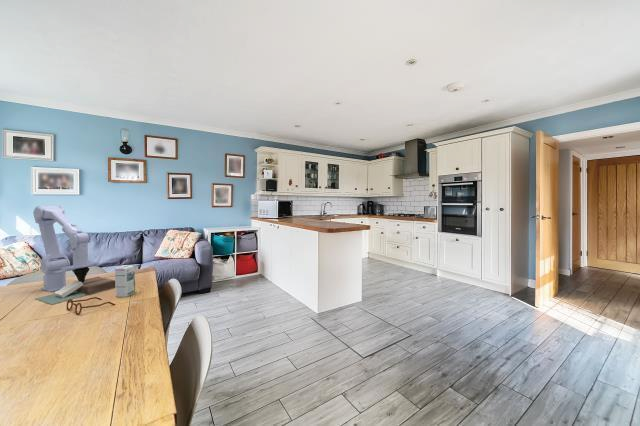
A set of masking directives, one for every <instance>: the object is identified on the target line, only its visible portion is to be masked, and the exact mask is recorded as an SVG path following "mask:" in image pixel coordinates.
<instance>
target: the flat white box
mask: <svg viewBox="0 0 640 426" xmlns="http://www.w3.org/2000/svg"><path fill="white" fill-rule="evenodd" d="M81 286H83V283H82V282H80V281H78V280H73V281H71V282H70V283H68V284H66V286H65V287H63V288H62V289H60V290H56V291H55V292H54V294H55V295H56V296H58V297H62V298H64V297H65V296H67V295H69V294H70V293H72V292H73V291H75V290H76V289H78V288H80V287H81ZM75 292H76V291H75Z"/></svg>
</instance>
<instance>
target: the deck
mask: <svg viewBox="0 0 640 426" xmlns="http://www.w3.org/2000/svg"><path fill="white" fill-rule="evenodd" d="M112 289H116V286H115V279H110V278H106V277H102V276H95V277H91V278H85V280H84V283H83V286H81V287H80V288H78V289H76V290H75V292H79V293H82V294H86V295H87V296H89V295H90V296H91V295H94V294H97V293H98V294H99V293H102V292H104V291H109V290H112Z"/></svg>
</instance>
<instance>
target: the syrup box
mask: <svg viewBox="0 0 640 426" xmlns="http://www.w3.org/2000/svg"><path fill="white" fill-rule="evenodd" d="M135 274H136V273H135V265H132V264H126V265H121V266H118V267H115V268H114V280H115V297H119V298H127V297H129V296H132V295H134V294H136V280H135V279H136V278H135V277H136V276H135Z"/></svg>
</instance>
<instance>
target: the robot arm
mask: <svg viewBox="0 0 640 426" xmlns="http://www.w3.org/2000/svg"><path fill="white" fill-rule="evenodd" d="M33 218H34V221H35V224H38V227H39V231H40V235H41V236H40V237H41V238H42V239H41V240H42V242H43V247H44V251H45V256H43V257H42V258H41V259H40V260H39V261H40V267H39V268H40V271H41V272H42V273H44V275H43V287H42V288H41V290H43V291H47V292H51V293H52V292H54V291H55V292H56V291H58V290H60V289H62V288H63V287H65V286H66V285H67V277H66V272H70V271H72V273H74V276H75V277H76V279H77V281H80V282H82V283H84V280H86V277H87V274H88V273H89V271H90V268H91V267H98V266H100V265H99V261H92V262H89V243H90V242H91V239H92V238H91V235H90V233H89V232H88V231H83V230H81V228H79V226H78V225H77V224H76V223H73V222H71V221H70V220H69V219H68V218H67V217H66V215H65V209H64V208H63V206H61V205H55V206H54V205H53V206H52V205H51V206H49V205H48V206H47V205H45V206H43V205H41V206H40V205H38V206H36V207H35V208H34V209H33ZM55 223H58V224H59V225H60V226H61V227H62V228H61V231H62V232H63V233H64V234H65V235H66V236H67V237H68V242H69V244H70V248H71V249H72V265H71V263H70V260H69V258H68V256H67V254H64V253H62V252H61V251H60V246H59V243H58V239H57V236H56V231H55V228H54V224H55Z"/></svg>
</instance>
